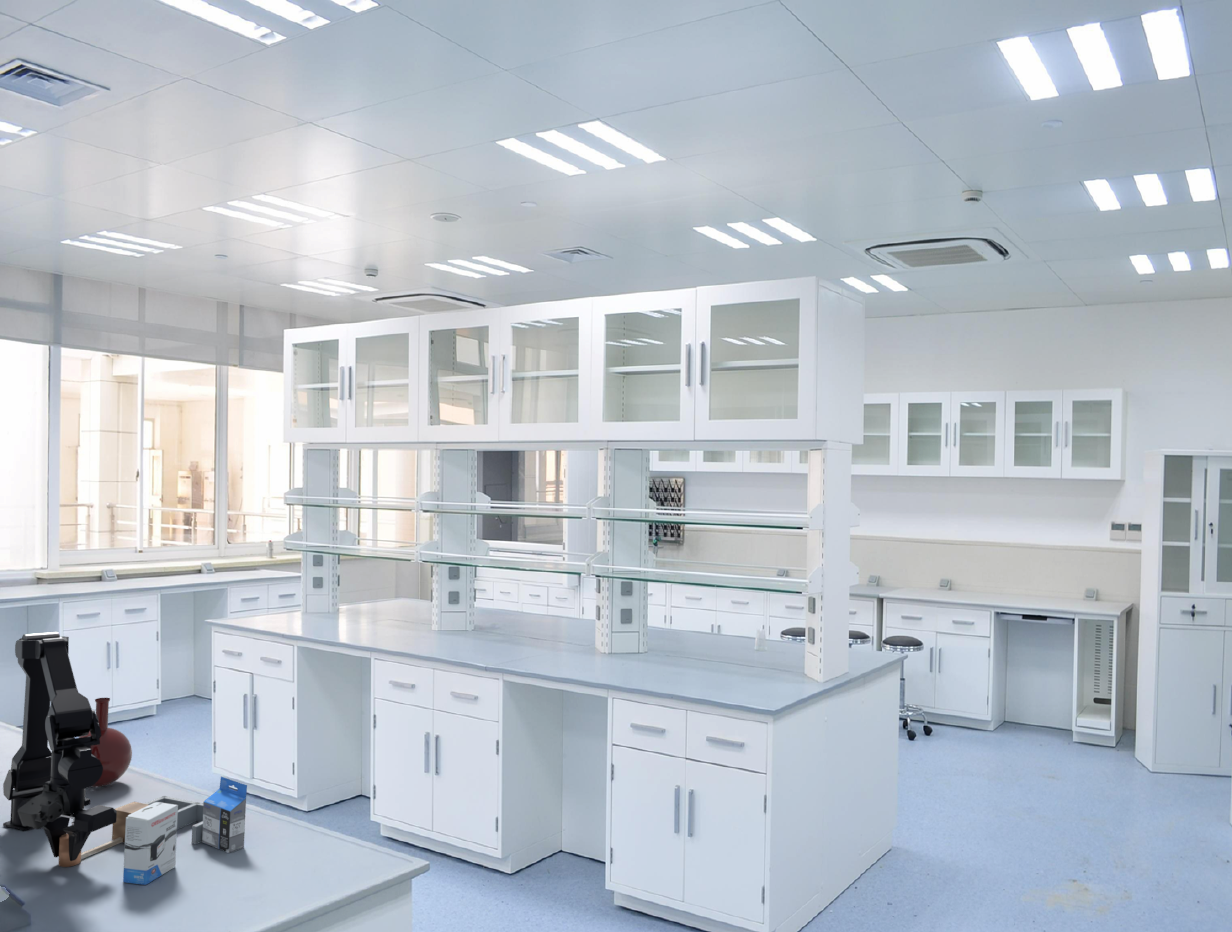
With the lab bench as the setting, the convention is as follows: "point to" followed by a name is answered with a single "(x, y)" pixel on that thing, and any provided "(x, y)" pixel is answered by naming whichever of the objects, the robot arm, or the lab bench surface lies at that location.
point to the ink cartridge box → (225, 817)
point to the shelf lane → (186, 815)
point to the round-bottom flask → (110, 747)
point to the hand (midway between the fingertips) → (65, 858)
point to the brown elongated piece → (117, 838)
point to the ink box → (150, 843)
